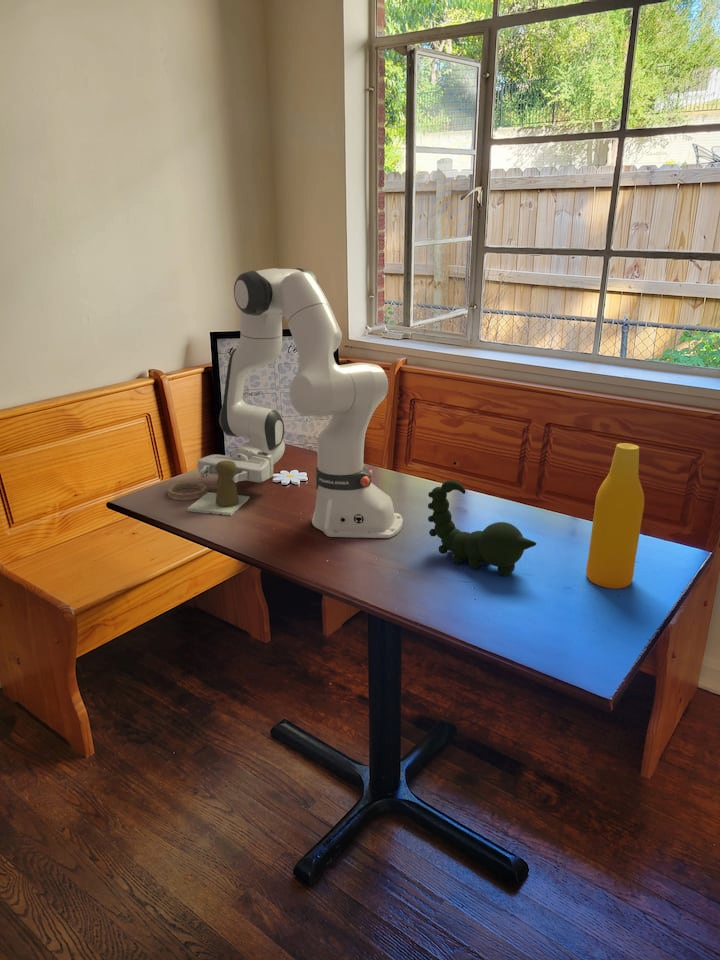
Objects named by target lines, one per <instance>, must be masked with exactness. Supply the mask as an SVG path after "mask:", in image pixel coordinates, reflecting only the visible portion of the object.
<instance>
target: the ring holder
mask: <svg viewBox="0 0 720 960" xmlns="http://www.w3.org/2000/svg"><path fill="white" fill-rule="evenodd" d="M190 488H192V489H199V490H197V491H194V492H187V493H185V492H184V493H180V492H176V491H178V490H182V489H190ZM208 492H209V491H208V487H207V484H206V483H205V482H204V483H203V482H201V481H192V480H190V481H181V482H176V483H174V484H171V485H170V486H168V487H167V496H168V498H170V499H172V500H178V501H191V500H196V499H197V500H198V499H200V498H201V497H202V496H204V495H205V494H206V493H208Z"/></svg>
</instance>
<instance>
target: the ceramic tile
mask: <svg viewBox="0 0 720 960" xmlns="http://www.w3.org/2000/svg"><path fill="white" fill-rule="evenodd" d="M207 492H208V493H206V494H205V495H204V496H202V497H200V498H198V499H197V500H195V502H194V503H192V504H191V505H190V506H189V507H187V509H186V510H187V512H190V511H191V512H190V513H192V512H193V513H199V514H200V513H202V514H209V513H212V515H219V514H222V516H229V515H230V516H231V517H232V516H233V515H234V514H235V513H236V512H237V511H238V510H239V509H240V508H241V507H242V506H243V505H245V503H247V501H248V499H249V500H250V496H249V495H239V494H238V499H239V503H238V504H235V505H229V506H222V505H218V504H216V494H217V492H209V491H207ZM235 511H236V512H235Z"/></svg>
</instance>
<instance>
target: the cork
mask: <svg viewBox="0 0 720 960" xmlns="http://www.w3.org/2000/svg"><path fill="white" fill-rule="evenodd" d="M216 471H217V473H218V476H217V485H216V493H217V494H216V504H218V505H222V506H229V505H235V504H238V503H239V499H238V495H239V494H238V488H237V482H236V483H234V482H232V479H231V476H232V475H234V473H235V472H236V464H235V463H234V462H232V461H220V462H218V463H217V465H216Z"/></svg>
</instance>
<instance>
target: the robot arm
mask: <svg viewBox="0 0 720 960" xmlns="http://www.w3.org/2000/svg"><path fill="white" fill-rule="evenodd" d="M233 286H234V287H233V297H234V301H235V303H236V305H237V308H238V309H239V310H240V311H241V312H240V313H241V314H240V327H239V328H240V330H239V331H240V332H239V333H240V339H239V343H238V346H237V347H236V348H234V349H233V350H232V352H231V353H230V356H229V360H228V364H227V370H226V377H225V378H226V379H225V386H224V393H223V401H222V404H221V409H220V412H219V417H218V422H219V426H220V428H221V430H222V431H223V433H224V434H225V435H227V436H228V437H236V438H244V439H248V442H247V443H245V444H243V445H242V446H239V447H237V448H235V449H233V451H232V452H231V453H230V455H226V454H225V455H223V454H219V453H218V454H210V455H207V456H204V457H202V458H198V460H197V470H198V473H199V477H201V478H208V477H209V476H210V475H212V476H217V477H218V473H217V471H216V465H217V463H218V462H220V461H232V462H234V463H235V464H236V472H235V473H234V475H232V476H231V479H232V482H234V483H236V484H237V483H238V482H243V481H246V482H254V483H263V482H265V481H267V480H269V479H271V478H272V477H273V476H274V465H275V464H277V462H278V461H279V460H280V459H281V458H282V457H283V455H284V453H285V449H286V445H285V442H284V436H285V435H284V434H285V424H284V421H283V418H282V416H281V414H280V413H279V411H278V410H276V409H271V408H268V407H263V406H258V405H252V404H249V403H248V404H247V403H246V402H245V401H244V399H243V396H244V392H245V382H246V376H247V374H248V372H249V371H251V370H256V369H260V368H264V367H266V366H268V365H271V364H273V363H274V362H275V361H276V360H277V359H278V358H279V357H280V355H281V353H282V350H283V349H282V347H283V323H282V322H283V316H284V319H285V322H286V324H287V326H288V329H289V331H290V334H291V336H292V340H293V341H294V345H295V347H296V350H297V354H298V369H297V372H296V374H295V375H294V377H293V378H292V380H291V383H290V386H289V391H288V392H289V400H290V403H291V405H292V407H293V409H294V410H295V411H296V412H297V413H298V415H301V416H303V417H317V418H319V417H320V418H323V417H327V416H332V417H331V419H330V421H329V423H328V424H327V425H326V426H325V427H324V428H323V430H321V431H320V433H319V434H318V438H317V441H316V442H317V443H316V444H317V445H316V446H317V447H316V448H317V452H316V453H317V466H316V468H315V486H316V487H315V489H316V501H315V508H314V513H313V516H312V519H311V523H312V526H313V527H314V528H315V529H318V530H320V531H321V532H323V533H324V534H325V535H326V536H327V537H330V538H360V539H361V538H362V539H363V538H364V539H365V538H366V539H367V538H369V539H371V538H372V539H390V538H392V537H394V536H396V535H397V534H398V533H399V532H400V531H401V530H402V528H403V525H404V521H403V516H402V515H401V514H400V513H398V512H395V509H394V504H393V500H392V497H390V496H389V495H388V494H387V493H385V492H384V491H383V490H382V489H380V488H379V487H377V486H376V485H375V484H374V483H373V482H372V475H373V470H372V469H370V470H368V469H367V468H366V467H365V466H364V458H365V457H364V455H365V454H364V451H365V440H366V439H365V438H366V433H367V429H368V426H369V423H370V421H371V418H372V417H373V414H374V412H375V411H376V409H377V408H378V407H379V405H380V404H381V403H382V402H383V401H384V400H385V398H386V397H387V394H388V392H389V391H388V390H389V379H388V376H387V374H386V372H385V370H384V369H383V368H382V367H381V366H380V365H378V364H376V363H375V364H374V363H371V362H370V363H369V362H359V361H358V362H355V363H354V362H353V363H345V364H340V365H339V364H338V363H337V362H336V359H335V357H334V353H335V352H336V351H337V349H339V347H340V345H341V343H342V338H343V333H342V330H341V328H340V326H339V324H338V321H337V319H336V316H335V313H334V312H333V309H332V307H331V305H330V303H329V300H328V299H327V297H326V295H325V293H324V292H323V289H322V288H321V286H320V284H319V281H318V278H317V277H316V275H315V273H314V272H312V270H308V269H306V268H301V267H300V268H299V267H298V268H276V267H272V268H266V269H261V270H256V271H255V270H248V271H246V272H243V273H240V274H239V275H238V276H237V278H236V280H235V282H234V285H233Z"/></svg>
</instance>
